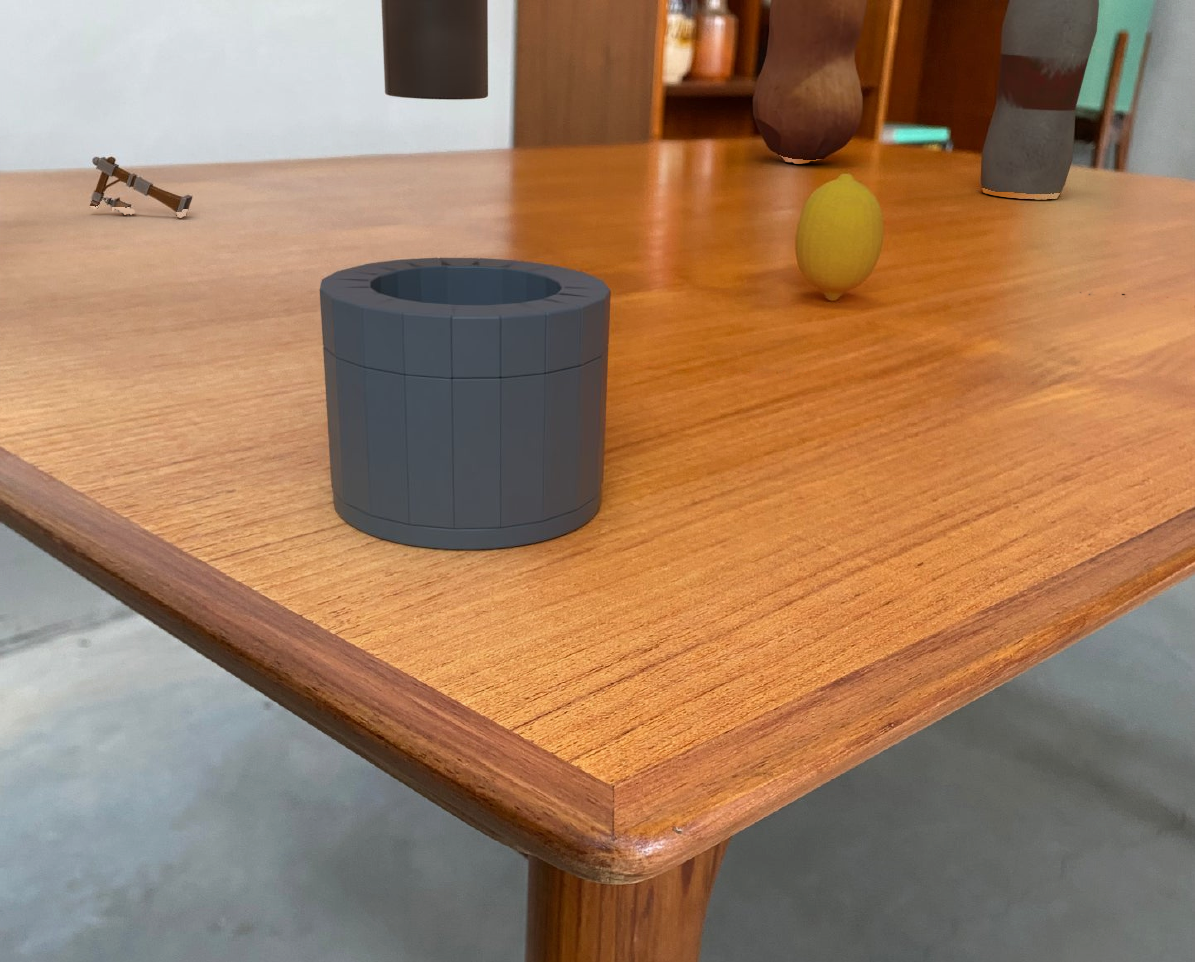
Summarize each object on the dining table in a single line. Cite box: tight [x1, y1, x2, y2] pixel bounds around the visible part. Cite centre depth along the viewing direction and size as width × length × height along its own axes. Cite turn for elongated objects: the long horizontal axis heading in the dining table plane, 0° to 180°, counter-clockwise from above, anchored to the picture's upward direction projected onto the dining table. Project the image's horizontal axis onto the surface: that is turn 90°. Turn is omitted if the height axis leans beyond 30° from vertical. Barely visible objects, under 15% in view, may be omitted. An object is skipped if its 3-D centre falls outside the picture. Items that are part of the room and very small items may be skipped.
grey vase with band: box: [980, 0, 1100, 194], centre depth 129 cm, size 9×9×30 cm
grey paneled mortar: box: [319, 257, 612, 551], centre depth 45 cm, size 10×10×8 cm
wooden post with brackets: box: [89, 156, 194, 213], centre depth 102 cm, size 2×8×4 cm, turn 89°
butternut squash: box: [752, 0, 868, 160], centre depth 152 cm, size 14×13×25 cm
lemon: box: [794, 172, 884, 302], centre depth 80 cm, size 6×6×8 cm
